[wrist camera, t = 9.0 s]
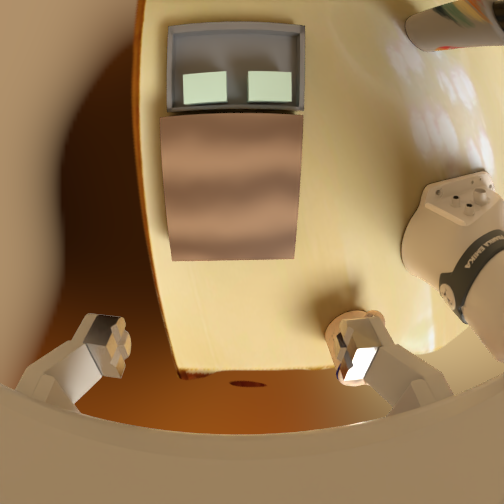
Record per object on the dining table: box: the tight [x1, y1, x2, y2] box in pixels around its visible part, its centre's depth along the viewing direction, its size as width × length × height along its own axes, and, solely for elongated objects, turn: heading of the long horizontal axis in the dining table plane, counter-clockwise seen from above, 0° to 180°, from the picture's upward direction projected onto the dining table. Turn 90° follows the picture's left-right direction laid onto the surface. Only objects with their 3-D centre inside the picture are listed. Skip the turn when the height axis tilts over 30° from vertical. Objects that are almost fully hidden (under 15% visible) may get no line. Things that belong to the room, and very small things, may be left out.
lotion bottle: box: [405, 0, 504, 52], centre depth 13 cm, size 6×6×20 cm
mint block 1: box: [183, 71, 228, 105], centre depth 24 cm, size 4×4×3 cm
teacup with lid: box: [325, 310, 385, 386], centre depth 38 cm, size 12×9×12 cm
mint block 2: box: [247, 71, 292, 103], centre depth 24 cm, size 4×4×3 cm
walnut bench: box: [160, 113, 303, 261], centre depth 30 cm, size 16×14×4 cm
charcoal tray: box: [167, 22, 305, 112], centre depth 24 cm, size 10×14×2 cm
